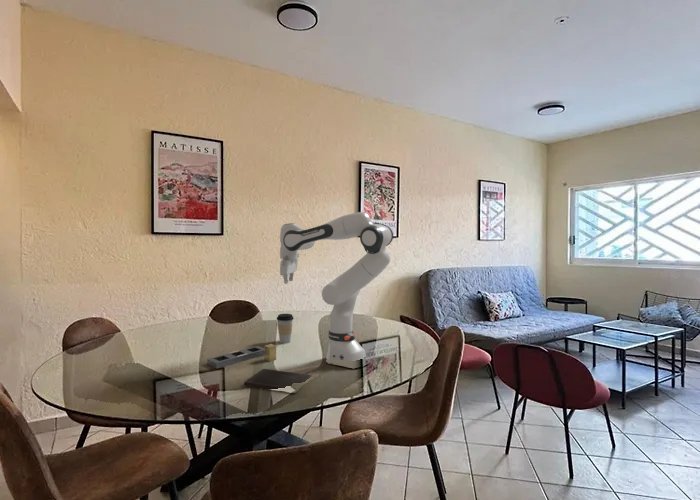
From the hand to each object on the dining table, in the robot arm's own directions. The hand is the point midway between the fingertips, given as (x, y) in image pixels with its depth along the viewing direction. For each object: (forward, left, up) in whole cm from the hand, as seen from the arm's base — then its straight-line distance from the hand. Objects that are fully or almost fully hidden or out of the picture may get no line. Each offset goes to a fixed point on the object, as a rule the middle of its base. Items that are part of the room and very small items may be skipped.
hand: (288, 282), depth 206 cm
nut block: (-4, +15, -36) cm, 39 cm away
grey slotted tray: (+8, +25, -36) cm, 44 cm away
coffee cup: (+14, -9, -36) cm, 40 cm away
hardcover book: (-29, +30, -37) cm, 55 cm away
